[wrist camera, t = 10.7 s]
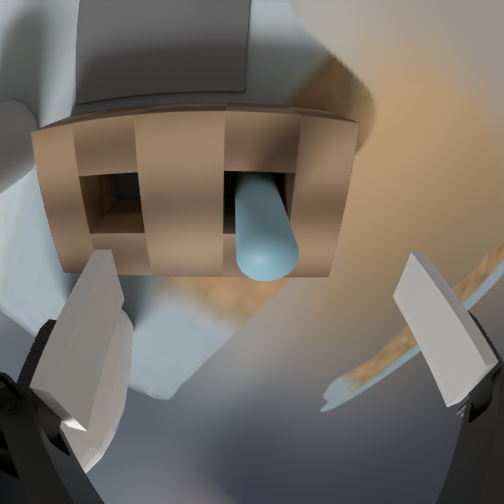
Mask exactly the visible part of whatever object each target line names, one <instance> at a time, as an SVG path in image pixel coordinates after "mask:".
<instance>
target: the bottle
mask: <svg viewBox="0 0 504 504" xmlns="http://www.w3.org/2000/svg"><path fill="white" fill-rule="evenodd" d="M59 316H60V315H59ZM59 316H58V318H59ZM58 318H57V319H56V320H58ZM133 333H134V331H133V325H132V323H131V321H130V319H129V317H128V315H127V314H126V312H125V311H124V310H123V309H122V308H121V311H120V314H119V317H118V320H117V323H116V326H115V329H114V332H113V335H112V338H111V342H110V345H109V348H108V352H107V355H106V358H105V362H104V365H103V369H102V373H101V376H100V380H99V384H98V388H97V392H96V396H95V400H94V404H93V408H92V413H91V417H90V422H89V426H88V431H84V430H80V429H76V428H72V427H69V426H68V425H67V424H65V423H64V422H63V421H61V425H60V428H61V429H62V431H63V432H64V434H65V436H66V438H67V440H68V442H69V444H70V446H71V448H72V450H73V452H74V454H75V456H76V458H77V460H78V461H79V463H80V465H81V467H82V469H83V470H84V472H85V474H86V472H87V471H89V470H90V469H91V467H93V466H94V465H95V464H96V463H97V461H98V460H99V459H100V458H101V457H102V456H103V454H104V452H105V451H106V449H107V447H108V445H109V444H110V442H111V440H112V438H113V437H114V434H115V432H116V429H117V426H118V424H119V421H120V418H121V416H122V413H123V410H124V406H125V399H126V393H127V386H128V380H129V374H130V369H131V358H132V345H133Z"/></svg>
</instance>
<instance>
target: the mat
mask: <svg viewBox="0 0 504 504" xmlns="http://www.w3.org/2000/svg"><path fill="white" fill-rule="evenodd" d="M249 6H250V0H80V3H79V13H78V25H77V41H76V96H77V104H81V103H87V102H92V101H98V100H105V99H111V98H118V97H126V96H135V95H145V94H156V93H170V92H191V91H241V92H244V90H245V72H246V54H247V37H248V21H249Z"/></svg>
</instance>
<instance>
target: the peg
mask: <svg viewBox="0 0 504 504" xmlns="http://www.w3.org/2000/svg"><path fill="white" fill-rule="evenodd" d="M235 216H236V260H237V264H238V266H239V268H240V270H241V271H242V272H243V273H244V274H245V275H246V276H248V277H250V278H252V279H254V280H258V281H273V280H277V279H280V278H282V277H284V276H286V275H287V274H288V273H290V272H291V271H292V270H293V268H294V267H295V266H296V264H297V262H298V258H299V249H298V245H297V242H296V240H295V237H294V234H293V231H292V228H291V225H290V222H289V220H288V217H287V214H286V211H285V208H284V206H283V203H282V200H281V197H280V195H279V192H278V189H277V186H276V184H275V181H274V178H273V176H272V173H271V172H257V171H235Z"/></svg>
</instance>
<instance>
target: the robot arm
mask: <svg viewBox="0 0 504 504" xmlns="http://www.w3.org/2000/svg"><path fill="white" fill-rule="evenodd" d="M393 298H394V300H395V301H396V303H397V305H398V307H399V309H400V310H401V312H402V314H403V316H404V318H405V320H406V322H407V323H408V325H409V327H410V329H411V331H412V333H413V335H414V337H415V339H416V341H417V343H418V345H419V347H420V349H421V351H422V353H423V355H424V357H425V359H426V361H427V363H428V365H429V367H430V369H431V371H432V374H433V376H434V378H435V380H436V382H437V385H438V387H439V389H440V392H441V394H442V396H443V399H444V401H445V403H446V406H447V407H448V406H451V405H453V404H456V403H459V402H460V401H461V400H462V399H463V398H464V397H465V396H466V395H469V397H470V399H469V400H468V401H467V402H466V403H465V404H464V405H462V406H461V407H460V408H459V409H458V410H457V412H456V414H459V413H460V412H461V411H462V410H464V409H465V411H464V412H463V413H462V414H461V416H462V417H463V420H462V425H461V429H460V433H459V437H458V441H457V444H456V448H455V451H454V455H453V458H452V461H451V465H450V467H449V471H448V473H447V476H446V479H445V482H444V485H443V487H442V490H441V492H440V495H439V498H438V500H437V502H436V504H504V362H503V361H502V359H501V357H500V356H499V354H498V353H497V350H496V349H495V347H494V345H493V344H492V342H491V340H490V339H489V337H488V336H486V332H485V331H484V329H482V326H481V325H480V323H479V322H478V320H477V319H476V318H475V317H474V316H473V315H472V314H471V313H470V312H469V311H467V310H466V309H465V307H464V306H463V304H462V303H461V301H460V300H459V299H458V297H457V296H456V294H455V293H454V292H453V290H452V289H451V287H450V286H449V285H448V284H447V282H446V281H445V279H444V278H443V277H442V276H441V274H440V273H439V272H438V271H437V269H436V268H435V266H434V265H433V264H432V263H431V261H430V260H429V259H428V257H427V256H426V255H425V254H424V253H423V252H411V254H410V257H409V259H408V262H407V264H406V267H405V269H404V272H403V274H402V277H401V279H400V281H399V284H398V286H397V288H396V291H395V293H394V295H393ZM123 302H124V296H123V292H122V289H121V285H120V282H119V278H118V274H117V271H116V267H115V263H114V259H113V255H112V251H111V250H95V251H94V253H93V254H92V256H91V258H90V259H89V261H88V263H87V265H86V266H85V268H84V270H83V272H82V273H81V275H80V277H79V279H78V281H77V282H76V284H75V286H74V288H73V290H72V292H71V294H70V296H69V298H68V299H67V301H66V303H65V305H64V307H63V309H62V311H61V313H60V316H59V318H58V320H51V319H49V320H48V321H47V322H46V323H45V324H44V325H43V326H42V327H41V328H40V330H39V332H38V334H37V336H36V338H35V343H33V345H32V347H31V349H30V350H31V352H29V354H28V356H27V358H26V361H25V363H24V365H23V368H22V370H21V373H20V375H19V378H18V381H17V383H15V382H14V381H13V379H12V378H11V377H10V376H9V375H7V374H6V373H2V372H0V504H104V502H103V501H102V499H101V498H100V496H99V495H98V493H97V492H96V490H95V488H94V487H93V485H92V484H91V482H90V480H89V479H88V477H87V476H86V474H85V472H84V470H83V469H82V467H81V465H80V463H79V461H78V460H77V458H76V456H75V454H74V452H73V450H72V448H71V446H70V444H69V442H68V440H67V438H66V436H65V434H64V432H63V431H62V429H61V428H60V425H61V421H63V422H64V423H65V424H67V425H68V426H69V427H72V428H76V429H80V430H84V431H88V426H89V422H90V417H91V413H92V408H93V404H94V400H95V396H96V392H97V388H98V384H99V380H100V376H101V373H102V369H103V365H104V362H105V358H106V355H107V352H108V348H109V345H110V342H111V338H112V335H113V332H114V329H115V326H116V323H117V320H118V317H119V314H120V311H121V308H122V305H123Z"/></svg>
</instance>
